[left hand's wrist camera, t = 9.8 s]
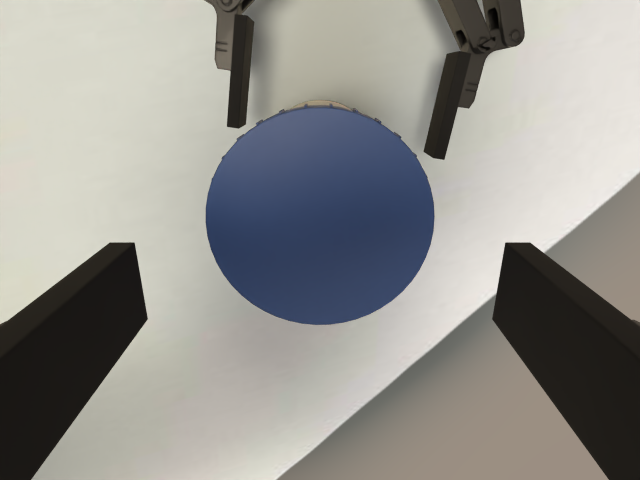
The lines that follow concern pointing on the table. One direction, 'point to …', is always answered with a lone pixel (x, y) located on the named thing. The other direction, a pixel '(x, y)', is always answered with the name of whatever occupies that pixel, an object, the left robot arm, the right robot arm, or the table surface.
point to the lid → (320, 215)
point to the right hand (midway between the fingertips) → (336, 141)
